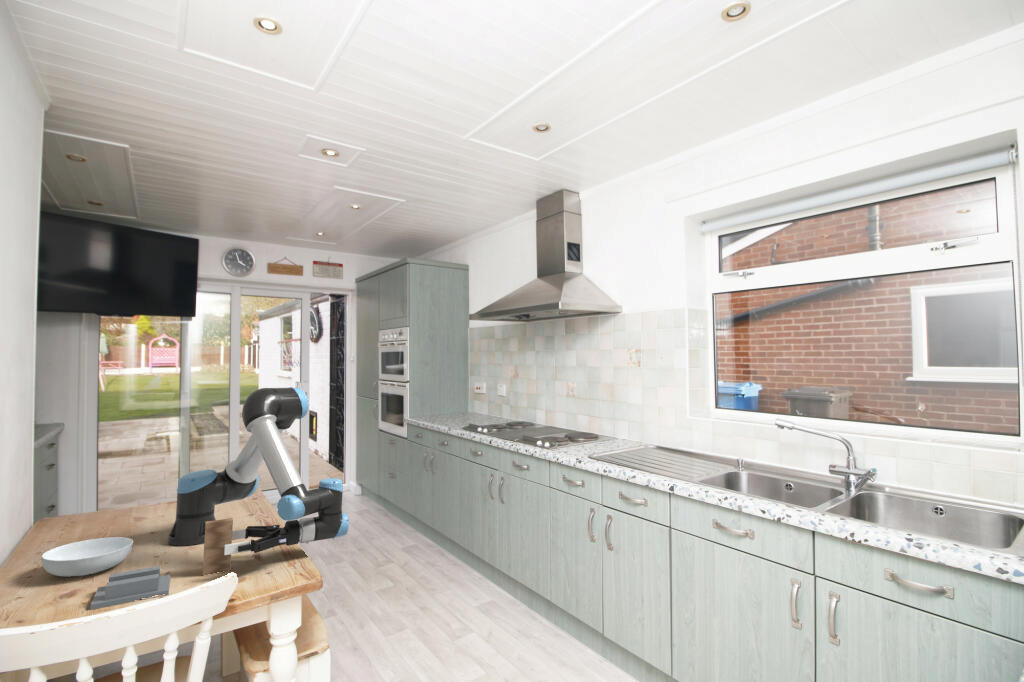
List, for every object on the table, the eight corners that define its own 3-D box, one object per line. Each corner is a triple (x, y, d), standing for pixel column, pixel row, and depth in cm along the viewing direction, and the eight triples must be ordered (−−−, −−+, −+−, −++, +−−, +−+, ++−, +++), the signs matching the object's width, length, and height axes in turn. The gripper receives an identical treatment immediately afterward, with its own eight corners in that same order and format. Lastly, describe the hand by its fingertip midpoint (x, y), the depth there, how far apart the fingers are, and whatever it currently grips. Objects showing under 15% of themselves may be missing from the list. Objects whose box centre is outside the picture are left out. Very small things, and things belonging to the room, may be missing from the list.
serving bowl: (148, 557, 156) (149, 536, 156) (94, 585, 135) (96, 560, 135) (81, 557, 155) (83, 535, 156) (17, 586, 134) (19, 560, 135)
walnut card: (229, 568, 148) (232, 518, 149) (230, 571, 146) (232, 520, 147) (202, 573, 144) (205, 521, 145) (202, 576, 142) (205, 523, 143)
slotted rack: (170, 578, 140) (171, 562, 140) (168, 594, 130) (169, 576, 130) (97, 591, 131) (99, 574, 131) (90, 609, 121) (91, 590, 121)
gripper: (306, 555, 147) (225, 570, 135) (291, 532, 168) (220, 543, 156) (307, 529, 148) (226, 542, 136) (292, 510, 168) (221, 520, 156)
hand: (222, 543), depth 146 cm, fingers open, 13 cm apart
